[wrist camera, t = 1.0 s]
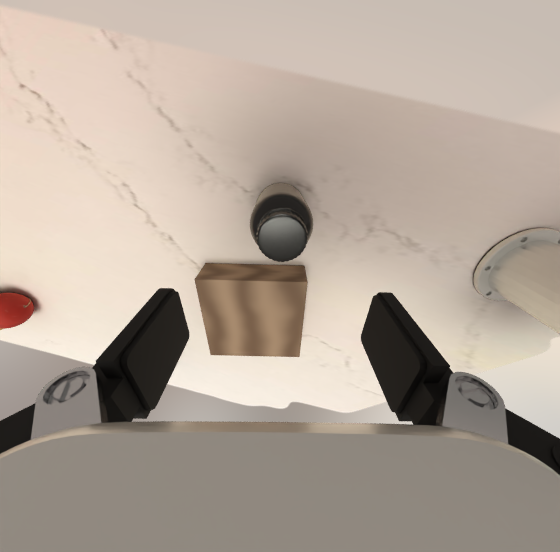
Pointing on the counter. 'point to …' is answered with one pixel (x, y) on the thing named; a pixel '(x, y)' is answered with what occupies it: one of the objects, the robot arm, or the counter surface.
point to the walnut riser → (252, 308)
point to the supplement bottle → (281, 222)
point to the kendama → (14, 309)
